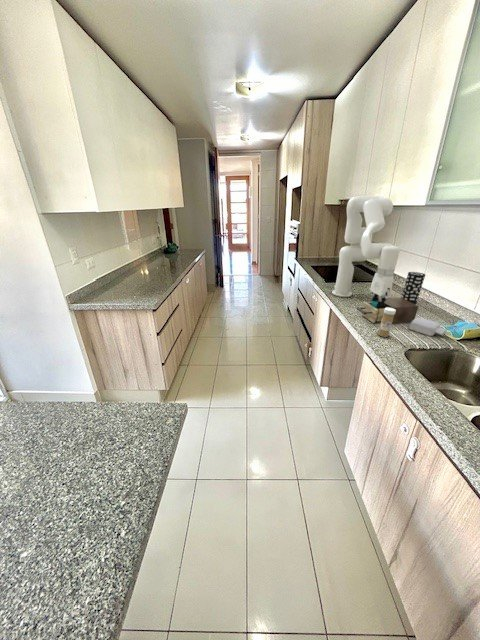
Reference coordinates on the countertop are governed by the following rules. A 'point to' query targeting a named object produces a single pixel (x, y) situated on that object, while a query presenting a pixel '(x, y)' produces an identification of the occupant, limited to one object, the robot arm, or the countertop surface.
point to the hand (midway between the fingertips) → (376, 306)
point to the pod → (375, 304)
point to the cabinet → (402, 310)
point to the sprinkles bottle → (386, 322)
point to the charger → (427, 327)
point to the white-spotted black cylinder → (413, 286)
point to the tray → (371, 312)
